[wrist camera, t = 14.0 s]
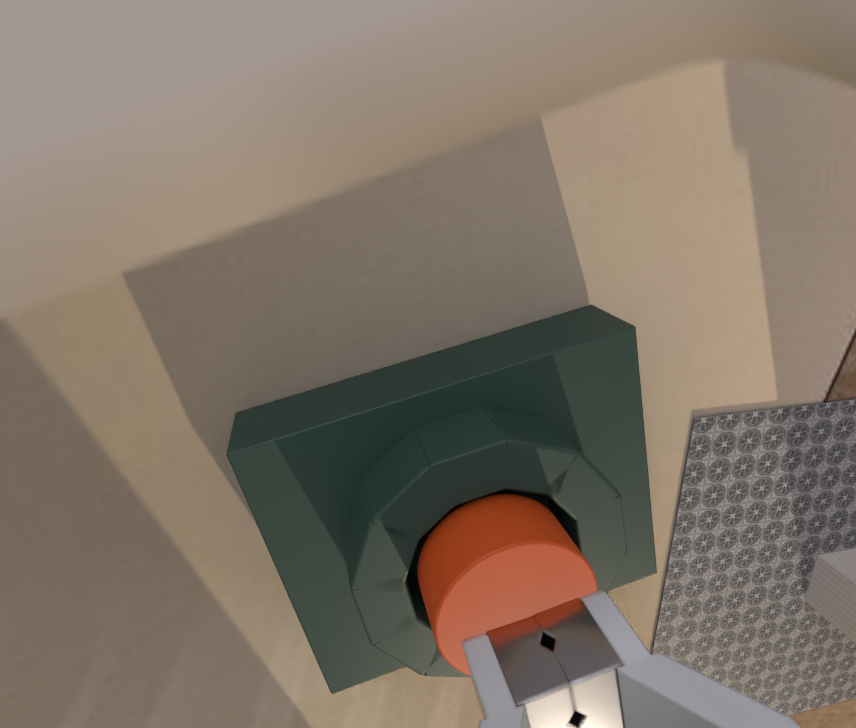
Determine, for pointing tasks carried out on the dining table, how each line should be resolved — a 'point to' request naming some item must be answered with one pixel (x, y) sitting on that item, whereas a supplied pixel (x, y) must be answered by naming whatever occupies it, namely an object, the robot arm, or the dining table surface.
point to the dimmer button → (496, 569)
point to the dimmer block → (444, 477)
